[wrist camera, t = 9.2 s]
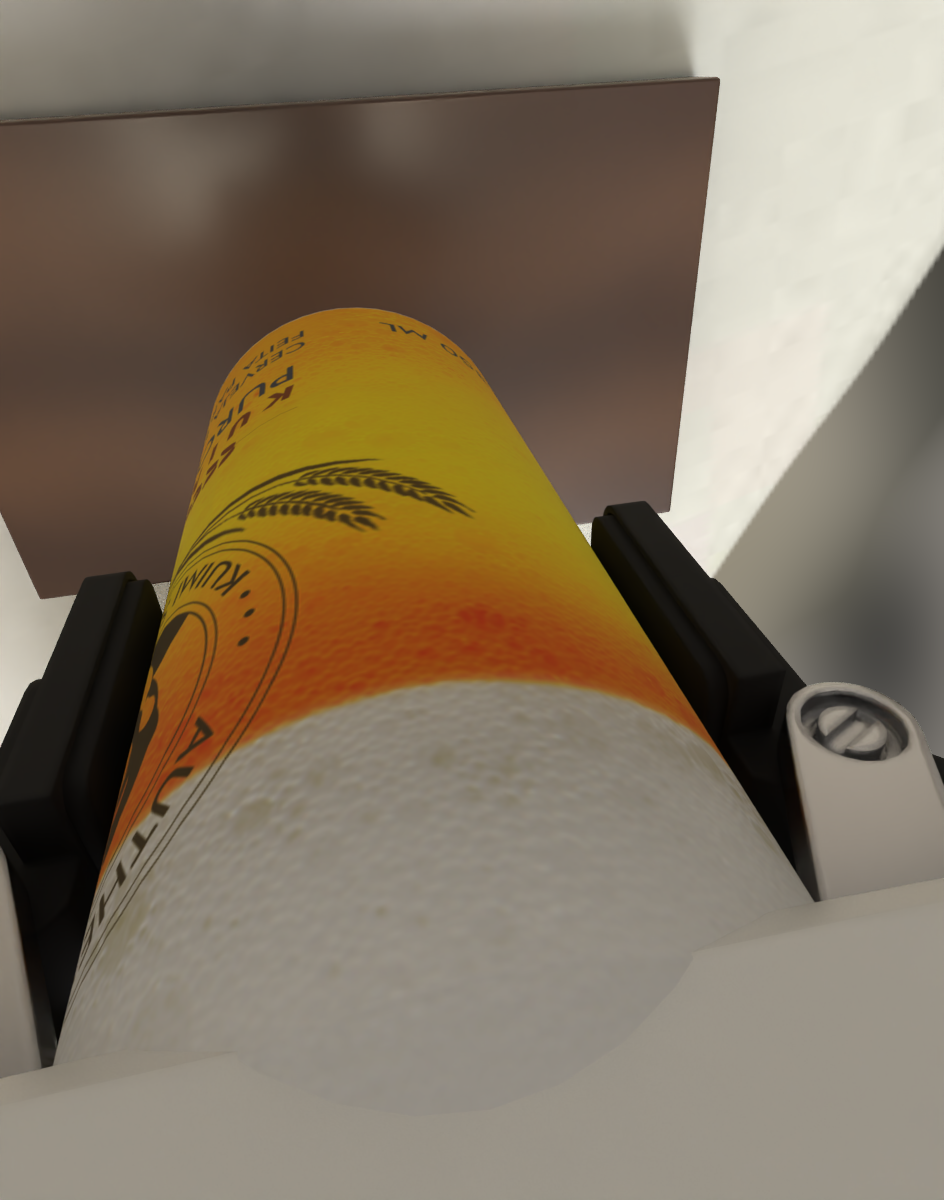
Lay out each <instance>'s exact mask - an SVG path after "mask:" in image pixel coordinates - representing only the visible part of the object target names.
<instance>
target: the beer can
mask: <svg viewBox="0 0 944 1200" xmlns="http://www.w3.org/2000/svg"><path fill="white" fill-rule="evenodd" d="M810 903H815V902H814V900H813V899H812V897H811V896H810V894H809V892H808V891H807V889H806V888H805V886H804V885H803V883H802V881H801V880H800V878H799V877H798V875H797V873H796V872H795V870H794V869H793V867H792V866H791V864H790V862H789V861H788V859H787V858H786V856H785V854H784V853H783V851H782V850H781V848H780V846H779V845H778V843H777V842H776V840H775V839H774V837H773V835H772V834H771V832H770V831H769V829H768V827H767V826H766V824H765V823H764V821H763V819H762V818H761V816H760V815H759V813H758V812H757V810H756V808H755V807H754V805H753V804H752V802H751V800H750V799H749V797H748V796H747V794H746V793H745V791H744V789H743V788H742V786H741V785H740V783H739V781H738V780H737V778H736V777H735V775H734V773H733V772H732V770H731V769H730V767H729V766H728V764H727V762H726V761H725V759H724V758H723V756H722V754H721V753H720V751H719V750H718V748H717V746H716V745H715V743H714V742H713V740H712V739H711V737H710V735H709V734H708V732H707V731H706V729H705V727H704V726H703V724H702V723H701V721H700V720H699V718H698V716H697V715H696V713H695V712H694V710H693V708H692V707H691V705H690V704H689V702H688V700H687V699H686V697H685V696H684V694H683V693H682V691H681V689H680V688H679V686H678V685H677V683H676V681H675V680H674V678H673V677H672V675H671V673H670V672H669V670H668V669H667V667H666V666H665V664H664V662H663V661H662V659H661V658H660V656H659V654H658V653H657V651H656V650H655V648H654V647H653V645H652V643H651V642H650V640H649V639H648V637H647V635H646V634H645V632H644V631H643V629H642V627H641V626H640V624H639V623H638V621H637V620H636V618H635V616H634V615H633V613H632V612H631V610H630V608H629V607H628V605H627V604H626V602H625V600H624V599H623V597H622V596H621V594H620V593H619V591H618V589H617V588H616V586H615V585H614V583H613V581H612V580H611V578H610V577H609V575H608V573H607V572H606V570H605V569H604V567H603V566H602V564H601V562H600V561H599V559H598V558H597V556H596V554H595V553H594V551H593V550H592V548H591V547H590V545H589V543H588V542H587V540H586V539H585V537H584V535H583V534H582V532H581V531H580V529H579V527H578V526H577V524H576V523H575V521H574V520H573V518H572V516H571V515H570V513H569V512H568V510H567V508H566V507H565V505H564V504H563V502H562V500H561V499H560V497H559V496H558V494H557V493H556V491H555V489H554V488H553V486H552V485H551V483H550V481H549V480H548V478H547V477H546V475H545V474H544V472H543V470H542V469H541V467H540V466H539V464H538V462H537V461H536V459H535V458H534V456H533V454H532V453H531V451H530V450H529V448H528V447H527V445H526V443H525V442H524V440H523V439H522V437H521V435H520V434H519V432H518V431H517V429H516V427H515V426H514V424H513V423H512V421H511V420H510V418H509V416H508V415H507V413H506V412H505V410H504V408H503V407H502V405H501V404H500V402H499V401H498V399H497V397H496V396H495V394H494V393H493V391H492V389H491V388H490V386H489V385H488V383H487V381H486V380H485V378H484V377H483V375H482V374H481V372H480V371H479V369H478V368H477V367H476V365H475V364H474V363H473V362H472V360H471V359H470V358H469V357H468V356H467V355H466V354H465V353H464V352H463V351H462V350H461V349H460V348H459V347H458V346H457V345H456V344H455V343H453V342H452V341H451V340H450V339H448V338H447V337H446V336H445V335H443V334H441V333H440V332H438V331H437V330H435V329H433V328H432V327H430V326H428V325H426V324H424V323H422V322H420V321H417V320H415V319H413V318H410V317H407V316H404V315H401V314H398V313H395V312H390V311H385V310H380V309H371V308H338V309H332V310H326V311H320V312H316V313H313V314H310V315H306V316H303V317H300V318H298V319H295V320H293V321H291V322H289V323H286V324H284V325H282V326H281V327H279V328H277V329H276V330H274V331H272V332H271V333H269V334H267V335H266V336H265V337H264V338H262V339H261V340H260V341H258V342H257V343H256V344H255V345H253V346H252V347H251V348H250V349H249V350H248V351H247V352H246V353H245V354H244V355H243V356H242V357H241V358H240V360H239V361H238V362H237V364H236V365H235V366H234V368H233V369H232V370H231V372H230V373H229V375H228V376H227V378H226V380H225V382H224V384H223V385H222V387H221V389H220V392H219V394H218V396H217V399H216V401H215V404H214V408H213V411H212V415H211V419H210V423H209V427H208V431H207V436H206V440H205V444H204V448H203V452H202V456H201V460H200V464H199V468H198V472H197V477H196V481H195V485H194V489H193V493H192V497H191V501H190V505H189V509H188V513H187V518H186V522H185V526H184V530H183V534H182V538H181V542H180V546H179V550H178V554H177V559H176V563H175V567H174V571H173V575H172V579H171V583H170V587H169V591H168V595H167V600H166V604H165V608H164V612H163V616H162V620H161V624H160V628H159V632H158V636H157V641H156V645H155V649H154V653H153V657H152V661H151V665H150V669H149V673H148V677H147V682H146V686H145V690H144V694H143V698H142V702H141V706H140V710H139V714H138V718H137V722H136V727H135V731H134V735H133V739H132V743H131V747H130V751H129V755H128V759H127V763H126V768H125V772H124V776H123V780H122V784H121V788H120V792H119V796H118V800H117V804H116V809H115V813H114V817H113V821H112V825H111V829H110V833H109V837H108V841H107V845H106V850H105V854H104V858H103V862H102V866H101V870H100V874H99V878H98V882H97V886H96V891H95V895H94V899H93V903H92V907H91V911H90V915H89V919H88V923H87V927H86V932H85V936H84V940H83V944H82V948H81V952H80V956H79V960H78V964H77V968H76V973H75V977H74V981H73V985H72V989H71V993H70V997H69V1001H68V1005H67V1009H66V1014H65V1018H64V1022H63V1026H62V1030H61V1034H60V1038H59V1042H58V1046H57V1050H56V1055H55V1059H54V1063H53V1066H56V1065H60V1064H64V1063H68V1062H73V1061H77V1060H82V1059H86V1058H91V1057H95V1056H100V1055H105V1054H109V1053H114V1052H118V1051H123V1050H139V1051H181V1052H226V1051H238V1053H237V1059H238V1060H240V1061H241V1062H243V1063H244V1064H246V1065H247V1066H249V1067H250V1068H252V1069H253V1070H255V1071H257V1072H258V1073H260V1074H263V1075H265V1076H268V1077H270V1078H273V1079H275V1080H278V1081H280V1082H282V1083H285V1084H288V1085H290V1086H293V1087H295V1088H298V1089H300V1090H303V1091H305V1092H308V1093H310V1094H313V1095H315V1096H318V1097H320V1098H323V1099H325V1100H328V1101H330V1102H333V1103H335V1104H339V1105H346V1106H353V1107H359V1108H366V1109H372V1110H378V1111H384V1112H391V1113H397V1114H403V1115H409V1116H426V1115H437V1114H448V1113H459V1112H470V1111H481V1110H491V1109H493V1108H496V1107H499V1106H502V1105H504V1104H507V1103H510V1102H513V1101H515V1100H518V1099H521V1098H524V1097H526V1096H529V1095H532V1094H535V1093H538V1092H540V1091H543V1090H546V1089H549V1088H551V1087H554V1086H557V1085H560V1084H561V1083H563V1082H564V1081H566V1080H567V1079H569V1078H570V1077H572V1076H574V1075H575V1074H577V1073H578V1072H580V1071H581V1070H583V1069H584V1068H586V1067H587V1066H589V1065H590V1064H592V1063H593V1062H595V1061H596V1060H598V1059H599V1058H601V1057H602V1056H604V1055H605V1054H607V1053H609V1052H610V1051H612V1050H613V1049H615V1048H616V1047H618V1046H619V1045H621V1044H622V1043H623V1042H624V1041H625V1040H626V1039H627V1038H628V1037H629V1036H630V1035H631V1034H632V1033H633V1032H634V1031H635V1030H636V1029H637V1027H638V1026H639V1025H640V1024H641V1023H642V1022H643V1021H644V1020H645V1019H646V1018H647V1017H648V1016H649V1015H650V1014H651V1013H652V1011H653V1010H654V1009H655V1008H656V1007H657V1006H658V1005H659V1004H660V1003H661V1002H662V1001H663V1000H664V999H665V998H666V997H667V995H668V994H669V993H670V992H671V991H672V990H673V989H674V988H675V987H676V986H677V984H678V982H679V981H680V979H681V978H682V976H683V974H684V973H685V971H686V970H687V968H688V967H689V965H690V963H691V962H692V960H693V956H692V954H691V952H693V951H695V950H697V949H699V948H701V947H704V946H706V945H708V944H710V943H712V942H714V941H716V940H718V939H720V938H722V937H723V936H725V935H727V934H729V933H731V932H733V931H735V930H737V929H738V928H740V927H743V926H745V925H747V924H749V923H751V922H753V921H754V920H756V919H758V918H759V917H761V916H763V915H764V914H766V913H767V912H771V911H776V910H781V909H786V908H790V907H795V906H800V905H805V904H810Z"/></svg>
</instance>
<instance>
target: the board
mask: <svg viewBox="0 0 944 1200" xmlns="http://www.w3.org/2000/svg"><path fill="white" fill-rule="evenodd" d="M719 86H720V79H719V78H718V77H684V78H668V79H652V80H636V81H620V82H604V83H588V84H572V85H556V86H540V87H524V88H508V89H492V90H476V91H459V92H443V93H427V94H411V95H395V96H379V97H363V98H347V99H331V100H315V101H299V102H283V103H267V104H251V105H235V106H219V107H203V108H187V109H171V110H155V111H139V112H123V113H107V114H91V115H75V116H59V117H43V118H27V119H11V120H0V513H1V515H2V517H3V519H4V521H5V524H6V526H7V528H8V530H9V532H10V534H11V537H12V539H13V541H14V543H15V545H16V547H17V550H18V552H19V554H20V556H21V558H22V560H23V563H24V565H25V567H26V569H27V571H28V574H29V576H30V578H31V580H32V582H33V584H34V587H35V589H36V591H37V593H38V595H39V597H40V599H48V598H55V597H62V596H70V595H77V594H78V591H79V589H80V587H81V584H82V582H83V580H84V579H85V577H89V576H96V575H104V574H111V573H118V572H126V571H131V572H132V573H133V574H134V575H135V577H136V578H137V580H144V579H148V580H149V581H150V582H151V584H156V583H163V582H170V581H171V579H172V575H173V571H174V567H175V563H176V559H177V554H178V550H179V546H180V542H181V538H182V534H183V530H184V526H185V522H186V518H187V513H188V509H189V505H190V501H191V497H192V493H193V489H194V485H195V481H196V477H197V472H198V468H199V464H200V460H201V456H202V452H203V448H204V444H205V440H206V436H207V431H208V427H209V423H210V419H211V415H212V411H213V408H214V404H215V401H216V399H217V396H218V394H219V392H220V389H221V387H222V385H223V384H224V382H225V380H226V378H227V376H228V375H229V373H230V372H231V370H232V369H233V368H234V366H235V365H236V364H237V362H238V361H239V360H240V358H241V357H242V356H243V355H244V354H245V353H246V352H247V351H248V350H249V349H250V348H251V347H252V346H253V345H255V344H256V343H257V342H258V341H260V340H261V339H262V338H264V337H265V336H266V335H267V334H269V333H271V332H272V331H274V330H276V329H277V328H279V327H281V326H282V325H284V324H286V323H289V322H291V321H293V320H295V319H298V318H300V317H303V316H306V315H310V314H313V313H316V312H320V311H326V310H332V309H338V308H371V309H380V310H385V311H390V312H395V313H398V314H401V315H404V316H407V317H410V318H413V319H415V320H417V321H420V322H422V323H424V324H426V325H428V326H430V327H432V328H433V329H435V330H437V331H438V332H440V333H441V334H443V335H445V336H446V337H447V338H448V339H450V340H451V341H452V342H453V343H455V344H456V345H457V346H458V347H459V348H460V349H461V350H462V351H463V352H464V353H465V354H466V355H467V356H468V357H469V358H470V359H471V360H472V362H473V363H474V364H475V365H476V367H477V368H478V369H479V371H480V372H481V374H482V375H483V377H484V378H485V380H486V381H487V383H488V385H489V386H490V388H491V389H492V391H493V393H494V394H495V396H496V397H497V399H498V401H499V402H500V404H501V405H502V407H503V408H504V410H505V412H506V413H507V415H508V416H509V418H510V420H511V421H512V423H513V424H514V426H515V427H516V429H517V431H518V432H519V434H520V435H521V437H522V439H523V440H524V442H525V443H526V445H527V447H528V448H529V450H530V451H531V453H532V454H533V456H534V458H535V459H536V461H537V462H538V464H539V466H540V467H541V469H542V470H543V472H544V474H545V475H546V477H547V478H548V480H549V481H550V483H551V485H552V486H553V488H554V489H555V491H556V493H557V494H558V496H559V497H560V499H561V500H562V502H563V504H564V505H565V507H566V508H567V510H568V512H569V513H570V515H571V516H572V518H573V520H574V521H575V523H576V524H577V525H578V524H585V523H592V522H593V519H594V518H595V517H599V516H603V513H604V510H605V508H606V507H607V506H608V505H615V504H623V503H630V502H637V501H646V502H647V503H648V504H649V505H650V506H651V507H652V508H653V510H654V511H655V512H656V513H664V512H669V511H670V505H671V496H672V488H673V479H674V471H675V462H676V453H677V445H678V436H679V428H680V419H681V411H682V402H683V394H684V385H685V377H686V368H687V360H688V351H689V342H690V334H691V325H692V317H693V308H694V300H695V291H696V283H697V274H698V266H699V257H700V248H701V240H702V231H703V223H704V214H705V206H706V197H707V189H708V180H709V172H710V163H711V155H712V146H713V137H714V129H715V120H716V112H717V103H718V95H719Z"/></svg>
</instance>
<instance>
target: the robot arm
mask: <svg viewBox="0 0 944 1200" xmlns="http://www.w3.org/2000/svg"><path fill="white" fill-rule="evenodd" d="M591 548H592V550H593V551H594V553H595V554H596V556H597V558H598V559H599V561H600V562H601V564H602V566H603V567H604V569H605V570H606V572H607V573H608V575H609V577H610V578H611V580H612V581H613V583H614V585H615V586H616V588H617V589H618V591H619V593H620V594H621V596H622V597H623V599H624V600H625V602H626V604H627V605H628V607H629V608H630V610H631V612H632V613H633V615H634V616H635V618H636V620H637V621H638V623H639V624H640V626H641V627H642V629H643V631H644V632H645V634H646V635H647V637H648V639H649V640H650V642H651V643H652V645H653V647H654V648H655V650H656V651H657V653H658V654H659V656H660V658H661V659H662V661H663V662H664V664H665V666H666V667H667V669H668V670H669V672H670V673H671V675H672V677H673V678H674V680H675V681H676V683H677V685H678V686H679V688H680V689H681V691H682V693H683V694H684V696H685V697H686V699H687V700H688V702H689V704H690V705H691V707H692V708H693V710H694V712H695V713H696V715H697V716H698V718H699V720H700V721H701V723H702V724H703V726H704V727H705V729H706V731H707V732H708V734H709V735H710V737H711V739H712V740H713V742H714V743H715V745H716V746H717V748H718V750H719V751H720V753H721V754H722V756H723V758H724V759H725V761H726V762H727V764H728V766H729V767H730V769H731V770H732V772H733V773H734V775H735V777H736V778H737V780H738V781H739V783H740V785H741V786H742V788H743V789H744V791H745V793H746V794H747V796H748V797H749V799H750V800H751V802H752V804H753V805H754V807H755V808H756V810H757V812H758V813H759V815H760V816H761V818H762V819H763V821H764V823H765V824H766V826H767V827H768V829H769V831H770V832H771V834H772V835H773V837H774V839H775V840H776V842H777V843H778V845H779V846H780V848H781V850H782V851H783V853H784V854H785V856H786V858H787V859H788V861H789V862H790V864H791V866H792V867H793V869H794V870H795V872H796V873H797V875H798V877H799V878H800V880H801V881H802V883H803V885H804V886H805V888H806V889H807V891H808V892H809V894H810V896H811V897H812V899H813V900H814V902H815V903H810V904H805V905H800V906H795V907H790V908H786V909H781V910H776V911H771V912H767V913H766V914H764V915H763V916H761V917H759V918H758V919H756V920H754V921H753V922H751V923H749V924H747V925H745V926H743V927H740V928H738V929H737V930H735V931H733V932H731V933H729V934H727V935H725V936H723V937H722V938H720V939H718V940H716V941H714V942H712V943H710V944H708V945H706V946H704V947H701V948H699V949H697V950H695V951H693V952H691V954H692V956H693V960H692V962H691V963H690V965H689V967H688V968H687V970H686V971H685V973H684V974H683V976H682V978H681V979H680V981H679V982H678V984H677V986H676V987H675V988H674V989H673V990H672V991H671V992H670V993H669V994H668V995H667V997H666V998H665V999H664V1000H663V1001H662V1002H661V1003H660V1004H659V1005H658V1006H657V1007H656V1008H655V1009H654V1010H653V1011H652V1013H651V1014H650V1015H649V1016H648V1017H647V1018H646V1019H645V1020H644V1021H643V1022H642V1023H641V1024H640V1025H639V1026H638V1027H637V1029H636V1030H635V1031H634V1032H633V1033H632V1034H631V1035H630V1036H629V1037H628V1038H627V1039H626V1040H625V1041H624V1042H623V1043H622V1044H621V1045H619V1046H618V1047H616V1048H615V1049H613V1050H612V1051H610V1052H609V1053H607V1054H605V1055H604V1056H602V1057H601V1058H599V1059H598V1060H596V1061H595V1062H593V1063H592V1064H590V1065H589V1066H587V1067H586V1068H584V1069H583V1070H581V1071H580V1072H578V1073H577V1074H575V1075H574V1076H572V1077H570V1078H569V1079H567V1080H566V1081H564V1082H563V1083H561V1084H560V1085H557V1086H554V1087H551V1088H549V1089H546V1090H543V1091H540V1092H538V1093H535V1094H532V1095H529V1096H526V1097H524V1098H521V1099H518V1100H515V1101H513V1102H510V1103H507V1104H504V1105H502V1106H499V1107H496V1108H493V1109H491V1110H481V1111H470V1112H459V1113H448V1114H437V1115H426V1116H409V1115H403V1114H397V1113H391V1112H384V1111H378V1110H372V1109H366V1108H359V1107H353V1106H346V1105H339V1104H335V1103H333V1102H330V1101H328V1100H325V1099H323V1098H320V1097H318V1096H315V1095H313V1094H310V1093H308V1092H305V1091H303V1090H300V1089H298V1088H295V1087H293V1086H290V1085H288V1084H285V1083H282V1082H280V1081H278V1080H275V1079H273V1078H270V1077H268V1076H265V1075H263V1074H260V1073H258V1072H257V1071H255V1070H253V1069H252V1068H250V1067H249V1066H247V1065H246V1064H244V1063H243V1062H241V1061H240V1060H238V1059H237V1053H238V1051H226V1052H181V1051H139V1050H123V1051H118V1052H114V1053H109V1054H105V1055H100V1056H95V1057H91V1058H86V1059H82V1060H77V1061H73V1062H68V1063H64V1064H60V1065H56V1066H53V1063H54V1059H55V1055H56V1050H57V1046H58V1042H59V1038H60V1034H61V1030H62V1026H63V1022H64V1018H65V1014H66V1009H67V1005H68V1001H69V997H70V993H71V989H72V985H73V981H74V977H75V973H76V968H77V964H78V960H79V956H80V952H81V948H82V944H83V940H84V936H85V932H86V927H87V923H88V919H89V915H90V911H91V907H92V903H93V899H94V895H95V891H96V886H97V882H98V878H99V874H100V870H101V866H102V862H103V858H104V854H105V850H106V845H107V841H108V837H109V833H110V829H111V825H112V821H113V817H114V813H115V809H116V804H117V800H118V796H119V792H120V788H121V784H122V780H123V776H124V772H125V768H126V763H127V759H128V755H129V751H130V747H131V743H132V739H133V735H134V731H135V727H136V722H137V718H138V714H139V710H140V706H141V702H142V698H143V694H144V690H145V686H146V682H147V677H148V673H149V669H150V665H151V661H152V657H153V653H154V649H155V645H156V641H157V636H158V632H159V628H160V624H161V620H162V616H163V613H162V611H161V608H160V605H159V602H158V599H157V596H156V593H155V591H154V588H153V586H152V584H151V582H150V581H149V580H148V579H144V580H137V578H136V577H135V575H134V574H133V573H132V572H131V571H126V572H118V573H111V574H104V575H96V576H89V577H85V579H84V580H83V582H82V584H81V587H80V589H79V591H78V594H77V596H76V599H75V601H74V603H73V606H72V608H71V611H70V613H69V615H68V618H67V620H66V622H65V625H64V627H63V630H62V632H61V634H60V637H59V639H58V642H57V644H56V646H55V649H54V651H53V653H52V656H51V658H50V661H49V663H48V665H47V668H46V670H45V673H44V675H43V677H42V679H38V680H35V681H34V682H32V683H30V684H29V686H28V688H27V689H26V691H25V692H24V695H23V697H22V699H21V702H20V704H19V706H18V708H17V711H16V713H15V715H14V718H13V720H12V722H11V724H10V727H9V729H8V731H7V734H6V736H5V738H4V740H3V743H2V745H1V747H0V1200H944V758H941V757H939V756H936V755H933V754H932V753H931V751H930V748H929V746H928V743H927V741H926V738H925V735H924V733H923V730H922V729H921V727H920V726H919V724H918V722H917V721H916V719H915V717H914V716H913V715H912V714H910V713H909V712H908V711H907V710H906V709H905V708H904V707H903V706H902V705H901V704H899V703H898V702H896V701H894V700H892V699H891V698H889V697H887V696H886V695H884V694H882V693H880V692H877V691H874V690H871V689H869V688H866V687H863V686H859V685H854V684H848V683H843V682H825V683H824V682H822V683H818V684H814V685H810V686H806V684H805V683H804V682H803V681H802V680H801V678H800V677H799V676H798V675H797V674H796V672H795V671H794V670H793V669H792V668H791V667H790V665H789V664H788V663H787V662H786V661H785V659H784V658H783V657H782V656H781V655H780V653H779V652H778V651H777V650H776V649H775V647H774V646H773V645H772V644H771V643H770V641H769V640H768V639H767V638H766V637H765V635H764V634H763V633H762V632H761V631H760V630H759V628H758V627H757V626H756V625H755V624H754V622H753V621H752V620H751V619H750V618H749V617H748V615H747V614H746V613H745V612H744V610H743V609H742V608H741V607H740V606H739V604H738V603H737V602H736V601H735V600H734V599H733V597H732V596H731V595H730V594H729V593H728V591H727V590H726V589H725V588H724V587H723V585H722V584H721V583H719V582H718V581H717V580H716V579H714V578H710V577H709V576H708V575H707V574H706V572H705V571H704V570H703V569H702V568H701V566H700V565H699V564H698V563H697V562H696V560H695V559H694V558H693V557H692V556H691V554H690V553H689V552H688V551H687V550H686V548H685V547H684V546H683V545H682V543H681V542H680V541H679V540H678V539H677V537H676V536H675V535H674V534H673V533H672V531H671V530H670V529H669V528H668V527H667V525H666V524H665V523H664V522H663V520H662V519H661V518H660V517H659V516H658V514H657V513H656V512H655V511H654V510H653V508H652V507H651V506H650V505H649V504H648V503H647V502H646V501H637V502H630V503H623V504H615V505H608V506H607V507H606V508H605V510H604V513H603V516H599V517H595V518H594V519H593V522H592V532H591Z"/></svg>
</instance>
